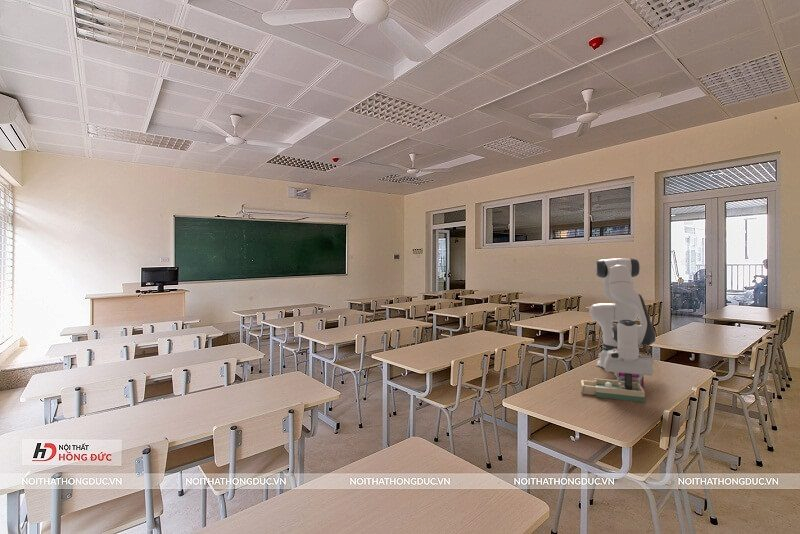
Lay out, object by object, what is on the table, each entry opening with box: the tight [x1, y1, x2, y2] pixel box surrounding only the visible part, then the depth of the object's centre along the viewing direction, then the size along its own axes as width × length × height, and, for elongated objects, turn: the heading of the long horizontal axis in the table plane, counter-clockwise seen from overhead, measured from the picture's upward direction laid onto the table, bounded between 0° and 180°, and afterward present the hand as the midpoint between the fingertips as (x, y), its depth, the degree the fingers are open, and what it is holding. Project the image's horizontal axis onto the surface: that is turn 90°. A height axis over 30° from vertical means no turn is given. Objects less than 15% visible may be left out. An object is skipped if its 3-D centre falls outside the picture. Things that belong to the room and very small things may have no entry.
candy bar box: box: [617, 353, 645, 388], centre depth 192 cm, size 11×5×16 cm, turn 62°
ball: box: [605, 382, 612, 388], centre depth 181 cm, size 3×3×3 cm
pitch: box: [580, 377, 646, 403], centre depth 180 cm, size 14×26×5 cm, turn 66°
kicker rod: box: [618, 373, 632, 390], centre depth 178 cm, size 5×6×8 cm
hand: (628, 382), depth 177 cm, fingers open, 7 cm apart
